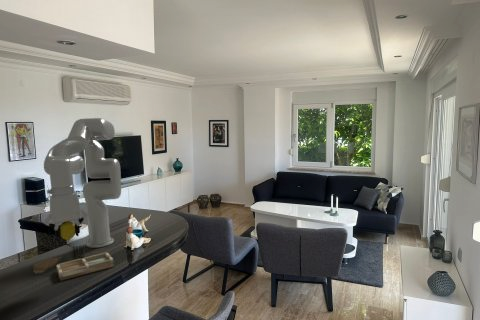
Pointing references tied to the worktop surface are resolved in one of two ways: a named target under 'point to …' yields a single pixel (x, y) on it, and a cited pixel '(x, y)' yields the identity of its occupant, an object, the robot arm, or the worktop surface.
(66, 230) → the lemon
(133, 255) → the worktop surface
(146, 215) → the worktop surface
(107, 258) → the tray
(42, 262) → the pottery shard
